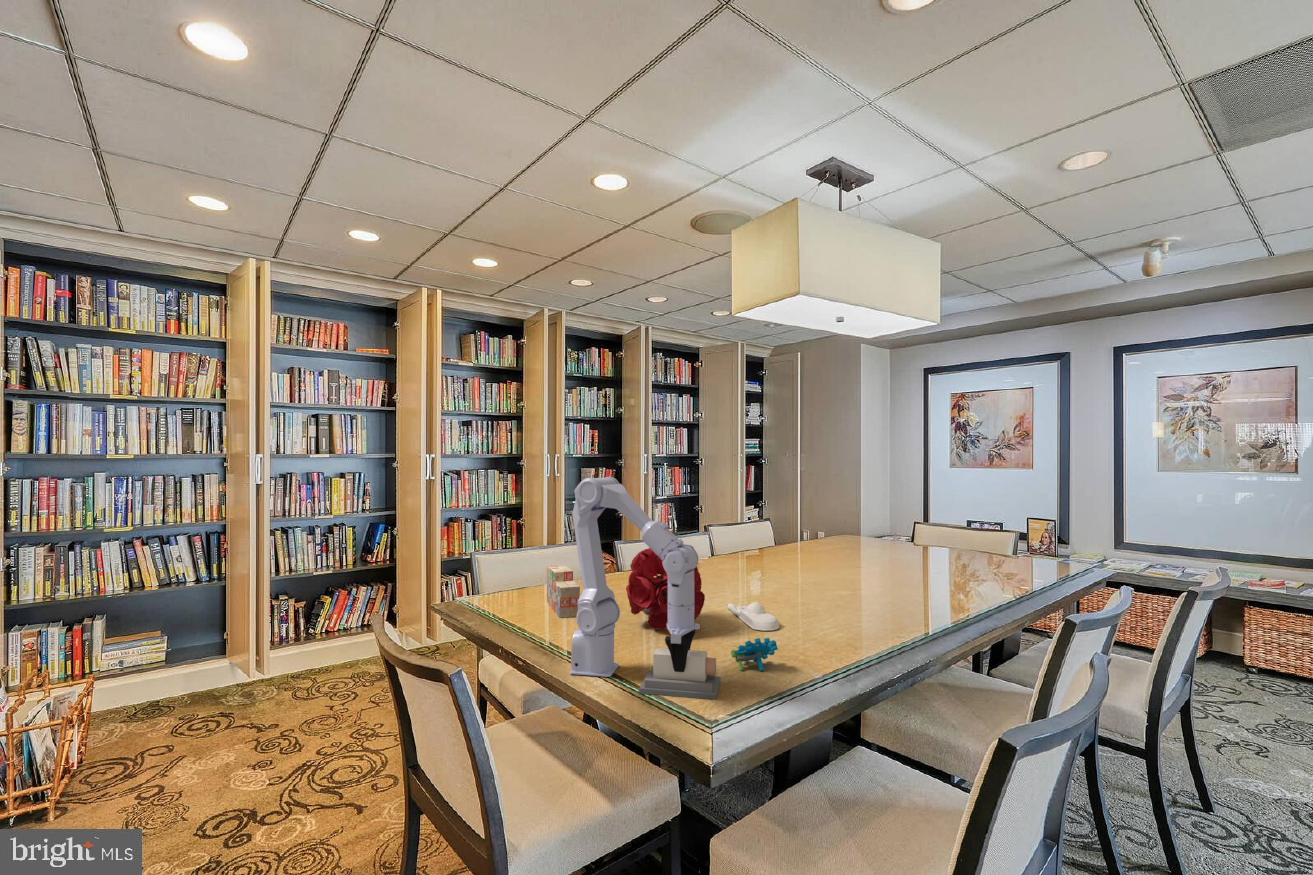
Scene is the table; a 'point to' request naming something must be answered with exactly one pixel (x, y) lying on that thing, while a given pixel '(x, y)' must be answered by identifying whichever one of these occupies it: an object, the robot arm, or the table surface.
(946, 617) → the table surface
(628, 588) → the bouquet
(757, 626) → the white domed paddle shape
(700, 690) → the cradle
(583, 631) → the robot arm
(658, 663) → the cream rectangular bar
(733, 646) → the table surface
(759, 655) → the blue brick toy animal
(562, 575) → the stack of blocks
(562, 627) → the table surface
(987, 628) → the table surface
